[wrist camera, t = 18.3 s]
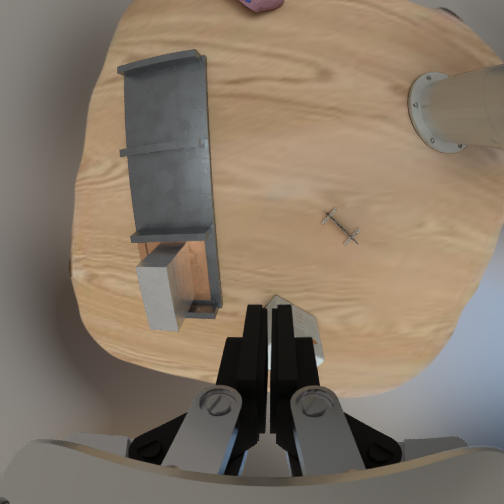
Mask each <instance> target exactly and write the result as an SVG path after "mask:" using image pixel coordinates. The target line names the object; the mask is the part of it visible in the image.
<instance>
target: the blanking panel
mask: <svg viewBox="0 0 504 504" xmlns="http://www.w3.org/2000/svg"><path fill="white" fill-rule="evenodd" d="M136 271H137V276H138V280H139V285H140V289H141V294H142V298H143V302H144V306H145V310H146V314H147V318H148V322H149V326H150V329H152V330H164V331H177V332H179V329H180V327H181V325H182V323H183V321H184V319H185V317H186V315H187V312H188V310H189V308H190V306H191V304H192V302H193V300H194V298H195V294H194V287H193V280H192V272H191V265H190V257H189V249H188V241H179V242H161V243H160V244H159V245H158V246H157V247H156V248H155V249H154V250H153V251H152V252H151V253H150V254H149V255H147V256H146V257H145V258H144V259H143V260H142V261H141V262H140V263H139V264H138V265H137V266H136Z"/></svg>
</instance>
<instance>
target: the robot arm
mask: <svg viewBox="0 0 504 504" xmlns="http://www.w3.org/2000/svg"><path fill="white" fill-rule="evenodd" d="M413 105H414V106H413ZM408 108H409V114H410V117H411V121H412V124H413V126H414V128H415V130H416V131H417V133H418V134H419V136H420V137H421V139H422V140H423V141H424V142H425V143H426V144H427V145H429V146H430V147H431V148H433V149H435V150H437V151H439V152H443V153H456V152H459V151H461V150H463V149H464V148H465V147H466V146H467V145H475V146H484V147H492V148H499V149H504V64H501V65H496V66H492V67H487V68H483V69H479V70H475V71H471V72H467V73H463V74H459V75H455V76H452V77H450V76H448V75H446V74H444V73H440V72H429V73H426V74H423V75H421V76H419V77H418V78H417V79H416V80H415V81H414V83H413V84H412V86H411V89H410V92H409V98H408ZM430 140H431V141H430ZM267 384H268V311H267V308H262V305H248V306H247V312H246V319H245V325H244V331H243V337H227V339H226V342H225V347H224V351H223V355H222V360H221V364H220V368H219V373H218V377H217V381H216V385H215V386H210V387H207V388H205V389H203V390H202V391H200V393H198V395H197V396H196V397H195V399H194V401H193V403H192V405H191V407H190V409H189V411H188V412H187V413H185V414H183V415H181V416H179V417H177V418H175V419H173V420H171V421H169V422H167V423H165V424H163V425H161V426H159V427H157V428H155V429H153V430H151V431H148V432H146V433H144V434H142V435H140V436H138V437H137V438H135V439H129V437H128V436H113V435H100V434H89V433H74V434H72V435H70V436H69V437H68V438H67V439H66V441H63V440H54V439H39V440H38V439H37V440H31V441H28V442H26V443H24V444H23V445H21V446H20V447H19V448H18V449H17V450H16V451H15V452H14V453H13V455H12V456H11V458H10V459H9V460H8V461H7V463H6V465H5V466H4V468H3V469H2V471H1V473H0V504H504V450H503V449H500V448H497V447H491V446H469V447H468V446H467V443H466V442H465V441H464V440H463V439H461V438H459V437H453V436H452V437H441V438H429V439H405V440H404V441H403V442H396V441H395V440H394V439H392V438H390V437H388V436H386V435H384V434H383V433H381V432H379V431H377V430H375V429H373V428H371V427H370V426H368V425H366V424H364V423H362V422H360V421H359V420H357V419H355V418H353V417H352V416H350V415H348V414H346V413H345V412H343V410H342V407H341V405H340V402H339V400H338V398H337V396H336V394H335V393H334V392H333V391H331V390H330V389H328V388H326V387H323V386H320V383H319V376H318V370H317V363H316V357H315V351H314V345H313V339H312V337H294V326H293V315H292V305H291V304H280V305H277V308H272V328H271V370H270V433H271V434H272V433H274V434H275V433H276V444H278V445H279V446H280V447H282V448H283V449H284V450H286V458H287V463H288V468H289V473H290V477H244V476H241V474H242V471H243V467H244V464H245V461H246V457H247V454H248V449H249V448H251V447H252V446H254V445H255V444H257V441H259V433H265V428H266V406H267V405H266V404H267Z"/></svg>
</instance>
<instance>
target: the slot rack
mask: <svg viewBox="0 0 504 504" xmlns="http://www.w3.org/2000/svg"><path fill="white" fill-rule="evenodd" d="M117 73H118V74H121V75H123V76H124V98H125V128H126V145H127V149H121V150H120V157H124V156H127V158H128V169H129V179H130V188H131V197H132V204H133V212H134V219H135V225H136V232H135V233H134V234H132V235H131V236H130V238H131V243H138V246H139V252H140V257H141V261H142V260H143V259H144V258H145V257H146V256H147V255H149V254H150V253H151V252H152V251H153V250H154V249H155V248H156V247H157V246H158V245H159V244H160V243H161V242H179V241H188V249H189V257H190V265H191V272H192V280H193V287H194V294H195V298H194V300H193V302H192V304H191V306H190V308H189V310H188V312H187V315H186V317H185V318H201V319H215V318H216V315H217V312H218V309H219V308H222V306H223V301H222V292H221V282H220V272H219V261H218V250H217V239H216V227H215V214H214V201H213V187H212V172H211V156H210V138H209V117H208V93H207V60H206V56H205V55H202V56H201V55H200V54H199V53H198V51H197V50H196V49H193V50H187V51H181V52H176V53H171V54H166V55H161V56H157V57H152V58H148V59H144V60H140V61H136V62H133V63H129V64H125V65H122V66H119V67H117Z"/></svg>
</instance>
